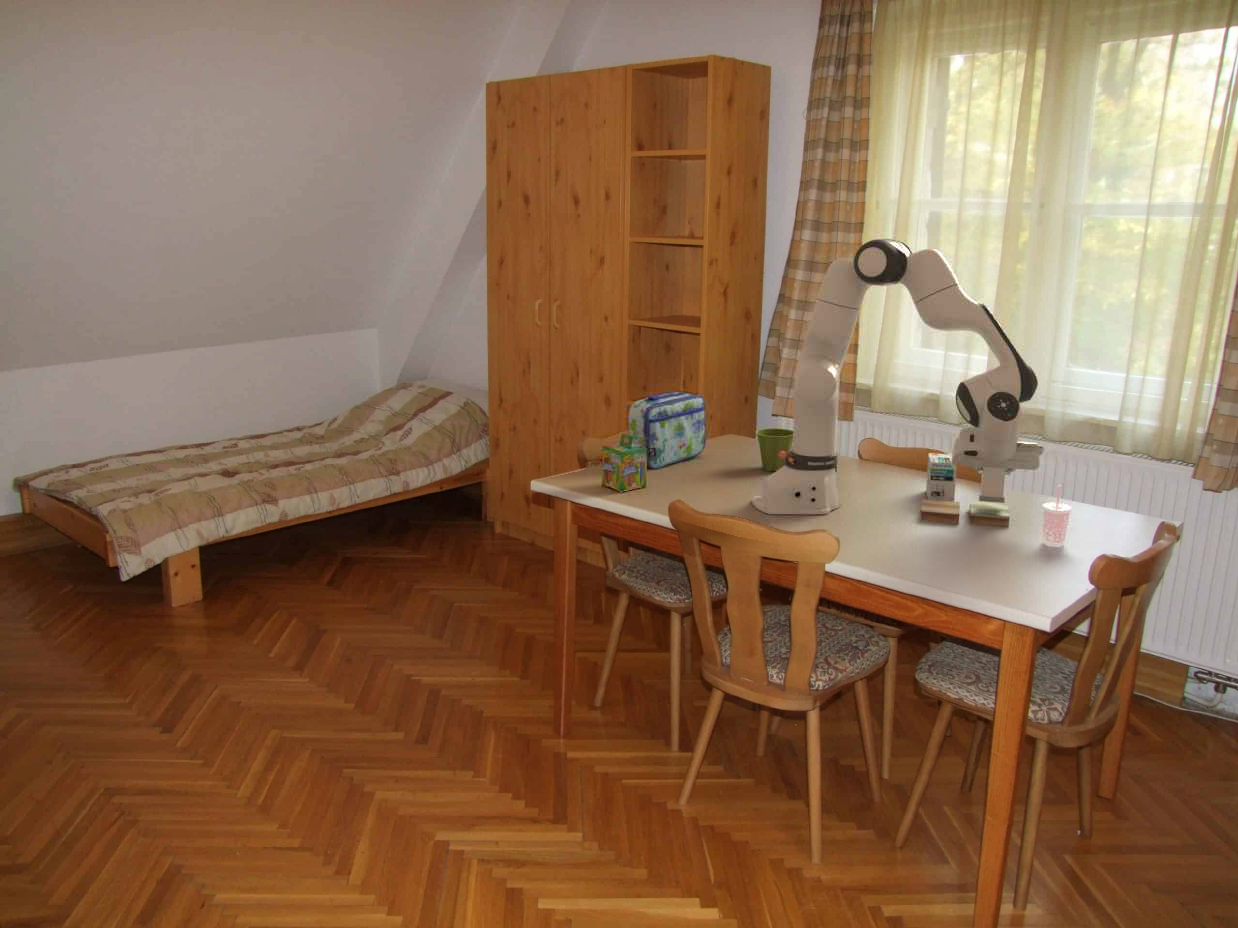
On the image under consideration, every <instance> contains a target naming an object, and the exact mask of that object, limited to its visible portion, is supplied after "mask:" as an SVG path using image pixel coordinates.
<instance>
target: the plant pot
mask: <svg viewBox="0 0 1238 928" xmlns="http://www.w3.org/2000/svg"><path fill="white" fill-rule="evenodd" d="M755 434H756V436H757V439H758V440H757V441H758V443H759V452H760V459H761V460H760V461H761V467H762V470H764V471H767V472H776V471H777V470H779V469H780V468H781V467H783V466H784V465H785V460H783V459H782V458H780V457H779V456H780V455H779V453H781V451H785V452H786V453H789V452H791V451H792V448H793V429H788V428H776V427H775V428H774V427H772V428H771V427H770V428H761V429H758V430H756V431H755Z"/></svg>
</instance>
